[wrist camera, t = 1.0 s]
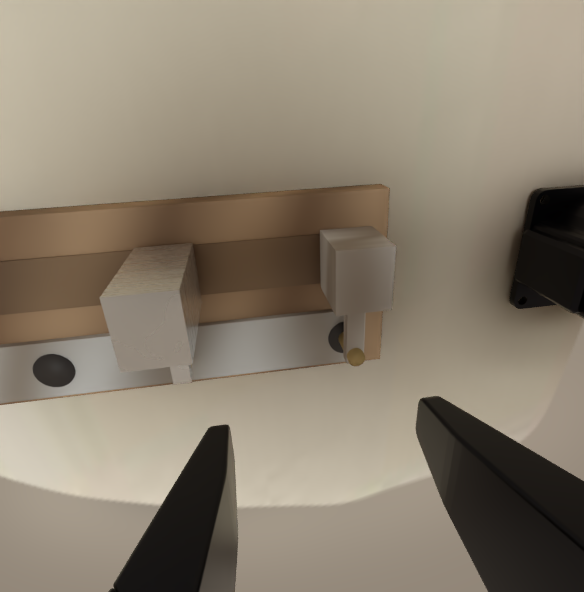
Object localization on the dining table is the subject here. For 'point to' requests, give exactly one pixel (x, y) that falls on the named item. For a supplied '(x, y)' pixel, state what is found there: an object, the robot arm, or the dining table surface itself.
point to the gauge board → (212, 282)
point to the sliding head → (155, 310)
